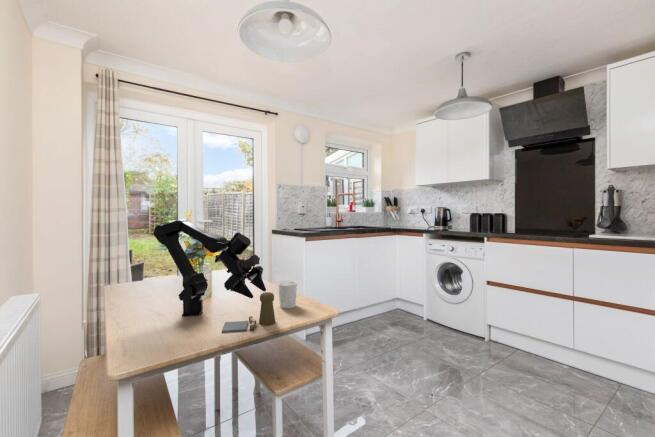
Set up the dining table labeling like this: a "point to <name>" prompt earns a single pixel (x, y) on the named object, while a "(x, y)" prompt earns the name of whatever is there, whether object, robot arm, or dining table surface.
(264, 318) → the olive pawn
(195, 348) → the dining table surface
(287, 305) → the white cup
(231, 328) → the slate pad
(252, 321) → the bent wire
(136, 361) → the dining table surface
